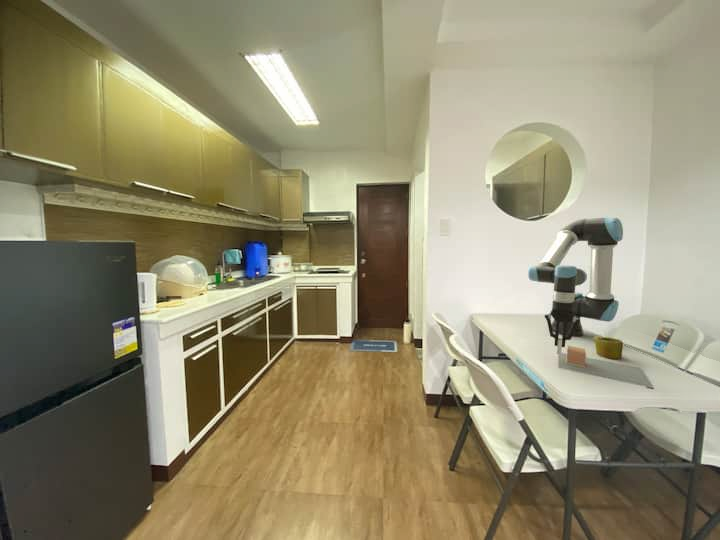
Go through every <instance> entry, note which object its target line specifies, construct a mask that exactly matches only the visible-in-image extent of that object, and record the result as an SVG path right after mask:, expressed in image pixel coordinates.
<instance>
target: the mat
mask: <svg viewBox="0 0 720 540" xmlns="http://www.w3.org/2000/svg"><path fill="white" fill-rule="evenodd" d="M557 357H558V358H557V359H558V360H557V361H558V362H557V363H558V365H557V366H558V367H557V368H558V369H561V370H567V371H572V372H576V373H582V374H585V375H591V376H595V377H599V378H604V379H609V380H613V381H614V380H615V381H618V382H622V383H628V384H632V385H633V384H634V385H637V386H642V387H646V388H647V389H651V390H654V387H653V384H652V383H651V382H650V380H649V378H648V377H647V376H646V374H645V372H644V370H643V369H642V368H641V367H639V366H634V365H628V364H624V363H618V362H613V361H607V360H602V359H597V358H591V357H587V356H586V358H585V367H582V366H577V365H572V364H567V359H566V358H567V352H566V353H564V352H561V355H559V354H557Z"/></svg>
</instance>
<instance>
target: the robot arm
mask: <svg viewBox="0 0 720 540" xmlns="http://www.w3.org/2000/svg"><path fill="white" fill-rule="evenodd" d="M623 227H624V226H623V223H622V221H621V220H620V219H619V218H617V217H598V218H597V217H596V218H580V219H577V220H574V221H571V222H570V223H568V224H566V225H565V226H564V227H562V228H561V229H560V230H559V231H558V233H557V234H556V239H555V240H554V242H553V243H552V245H551V247H550V248H549V250H548V251H547V252H546V254H545V256H544V257H543V259H542V260H541V261H540V263H539V264H538V265H533V266H530V267H529V268H528V274H527V276H528V279H529V280H530V281H533V282H538V283H546V284H547V283H548V284H553V295H552V307H551V311H550V312H549V313H545V314H544V318H545V319H546V322H547V326H548V327H547V328H548V331H549V335H550V337H551V338H553V339H554V346H556V355H558V354H559V355H561V353H562V348H565V347H566V341H567V340H569V341H570V340H572V337H581V336H583V335H584V329H583V326H582V323H581V318H586V319H589V320H590V319H591V320H594V321H595V320H596V321H599V322H602V321H603V322H608V323H609V322H612V321H613V320H614V318H616V315H617V314H618V313H617V312H618V310H619V305H620V304H619V301H618V300H617V299H615V295H614V294H612V292H611V290H612V275H613V274H612V273H613V257H614V248H615V247H616V246H618V244H619V243H618V242H621V241H622V240H623V235H624V228H623ZM577 242H587V246H588V247H590V268H589V269H590V270H589V272H590V273H589V291H587V293H586V294H585V296H583V293H582V292H577V291H576V286H581V285H583V284H585V283H586V281H587V280H588V274H587V272H586V271H585V270H583V269H581V268H577V266H574V265H565V264H564V265H563V264H562V262H563V260H564V259H565V257H566V255H567V254H568V252H569V251H570V249H571V247H572V246H574V245H576V244H577ZM561 264H562V265H561ZM552 318H553V321H552ZM559 335H562V337H561V338H559Z"/></svg>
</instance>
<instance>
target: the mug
mask: <svg viewBox="0 0 720 540" xmlns="http://www.w3.org/2000/svg"><path fill="white" fill-rule="evenodd" d="M593 342H594V343H595V351H596V354H597V355H598V356H600V357H602V358H606V359H609V360H619V359H622V358H623V345H624V342H623V341H622V340H620V339H619V338H614V337H605V336H604V337H601V336H594V337H593Z"/></svg>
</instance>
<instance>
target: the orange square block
mask: <svg viewBox="0 0 720 540" xmlns="http://www.w3.org/2000/svg"><path fill="white" fill-rule="evenodd" d="M566 349H567V350H566V354H567V358H566V359H567V364H572V365H577V366H582V367H585V358H586V357H587V351H586V349H585V348H583V347H577V346H571V345H567V348H566Z"/></svg>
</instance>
